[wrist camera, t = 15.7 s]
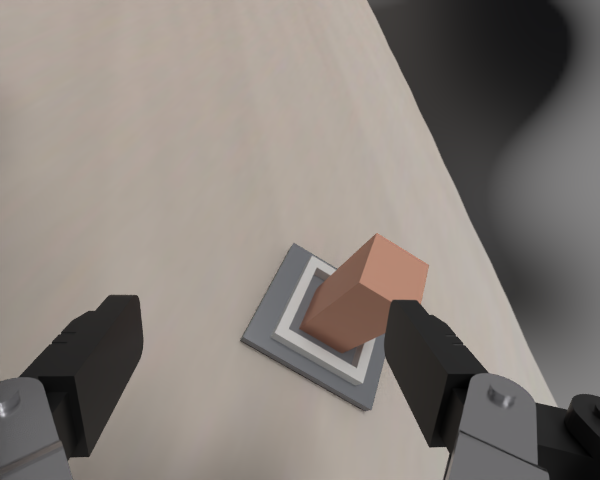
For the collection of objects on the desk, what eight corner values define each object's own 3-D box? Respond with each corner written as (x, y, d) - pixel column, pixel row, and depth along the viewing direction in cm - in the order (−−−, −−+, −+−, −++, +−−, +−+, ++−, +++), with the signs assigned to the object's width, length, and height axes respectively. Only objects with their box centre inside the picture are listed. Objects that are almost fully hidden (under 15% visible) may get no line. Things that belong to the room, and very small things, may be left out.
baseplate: (240, 340, 33) (246, 332, 31) (290, 247, 40) (298, 236, 38) (365, 410, 34) (380, 408, 32) (392, 308, 41) (405, 300, 39)
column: (298, 328, 34) (359, 282, 25) (316, 288, 37) (376, 232, 28) (341, 353, 35) (417, 317, 25) (356, 311, 38) (429, 265, 28)
